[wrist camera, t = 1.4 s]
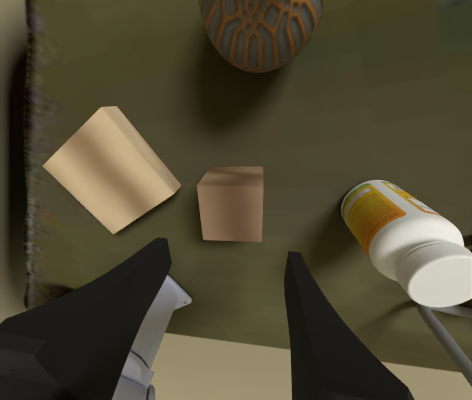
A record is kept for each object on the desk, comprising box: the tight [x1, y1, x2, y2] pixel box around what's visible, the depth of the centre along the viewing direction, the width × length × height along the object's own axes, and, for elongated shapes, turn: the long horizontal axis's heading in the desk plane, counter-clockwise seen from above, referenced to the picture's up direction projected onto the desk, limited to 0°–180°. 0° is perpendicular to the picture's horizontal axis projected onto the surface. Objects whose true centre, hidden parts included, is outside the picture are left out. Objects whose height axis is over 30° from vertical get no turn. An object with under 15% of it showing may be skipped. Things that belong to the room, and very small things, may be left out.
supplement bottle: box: [341, 180, 472, 307], centre depth 16 cm, size 5×5×10 cm
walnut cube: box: [197, 167, 263, 242], centre depth 19 cm, size 5×5×5 cm
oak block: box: [43, 106, 181, 234], centre depth 21 cm, size 9×9×2 cm
